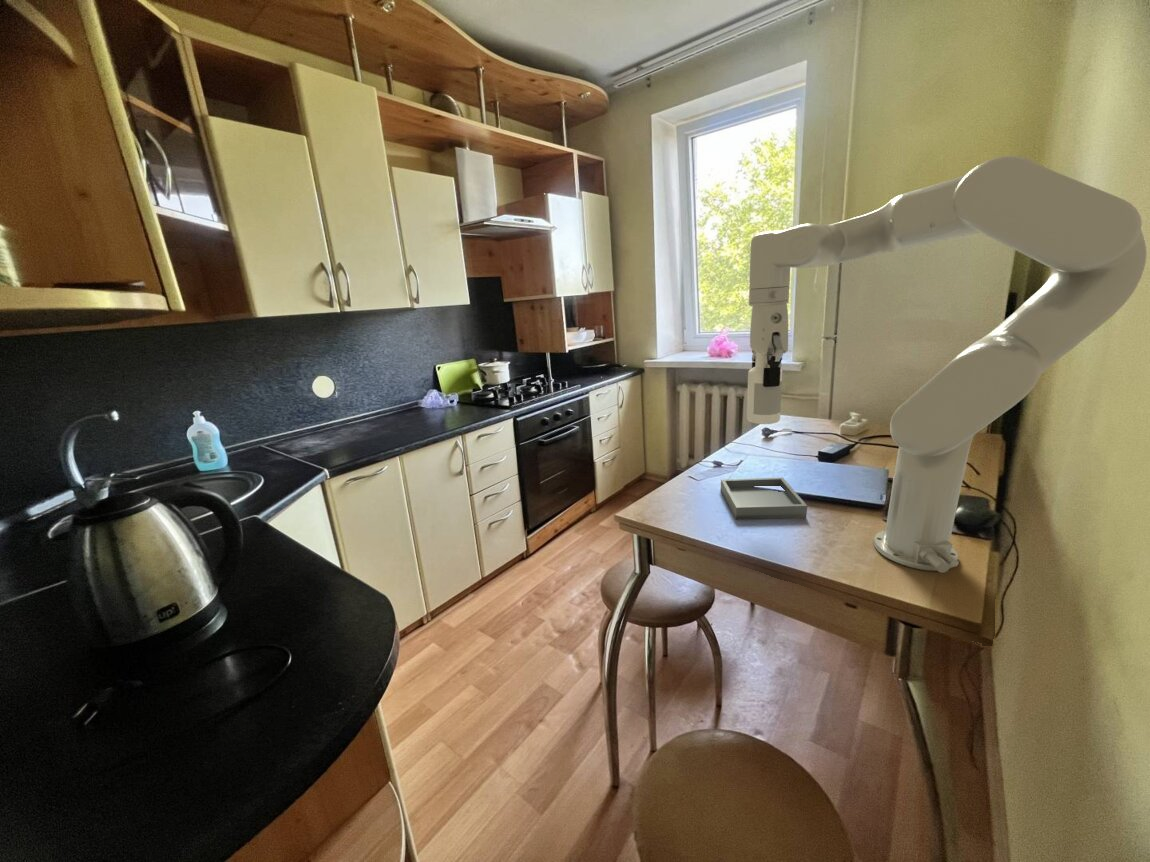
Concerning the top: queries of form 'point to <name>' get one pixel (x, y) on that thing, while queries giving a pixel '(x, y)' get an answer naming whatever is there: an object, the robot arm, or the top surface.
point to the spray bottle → (762, 395)
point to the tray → (762, 499)
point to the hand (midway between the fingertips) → (764, 382)
